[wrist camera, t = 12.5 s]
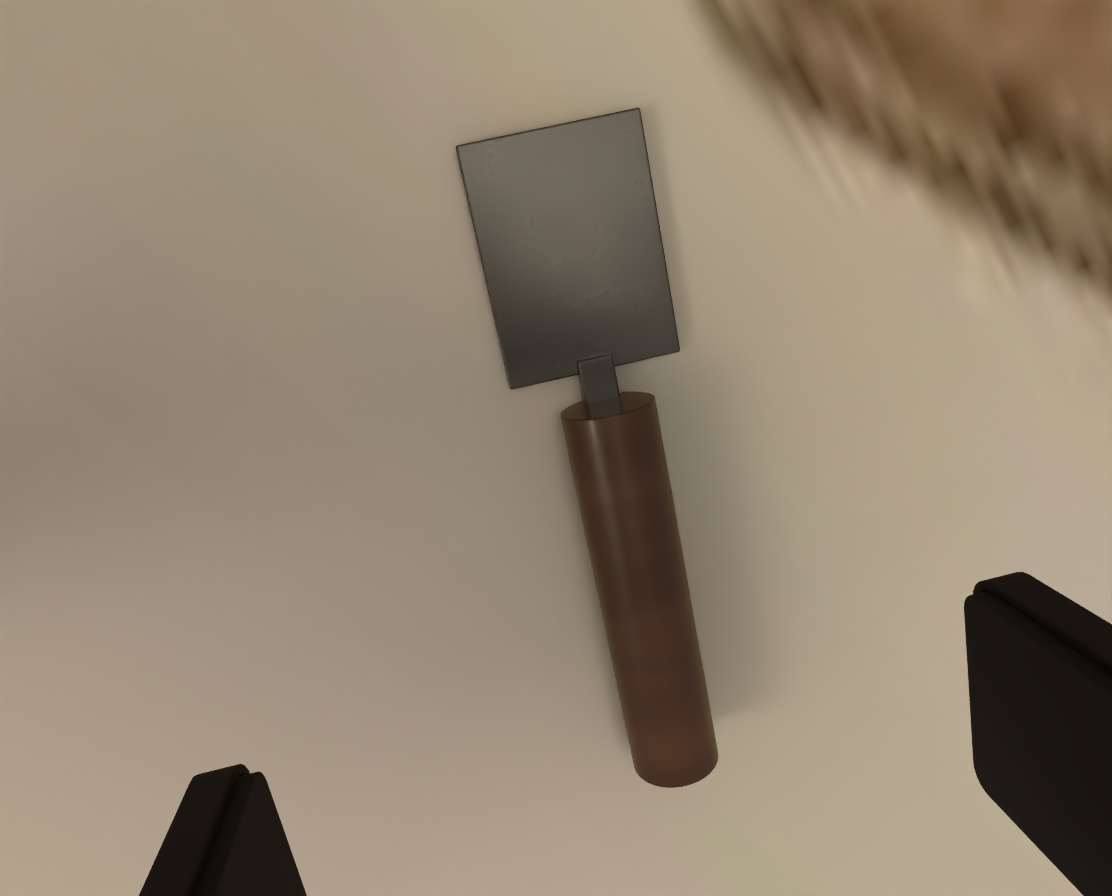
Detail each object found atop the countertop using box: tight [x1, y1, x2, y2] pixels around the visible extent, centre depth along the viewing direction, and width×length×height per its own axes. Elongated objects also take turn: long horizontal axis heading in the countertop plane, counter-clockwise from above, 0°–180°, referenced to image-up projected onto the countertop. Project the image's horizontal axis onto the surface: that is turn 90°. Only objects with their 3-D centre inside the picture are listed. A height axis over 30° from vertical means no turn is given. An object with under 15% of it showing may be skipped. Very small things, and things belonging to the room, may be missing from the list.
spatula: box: [456, 108, 718, 788], centre depth 28 cm, size 23×6×3 cm, turn 12°
